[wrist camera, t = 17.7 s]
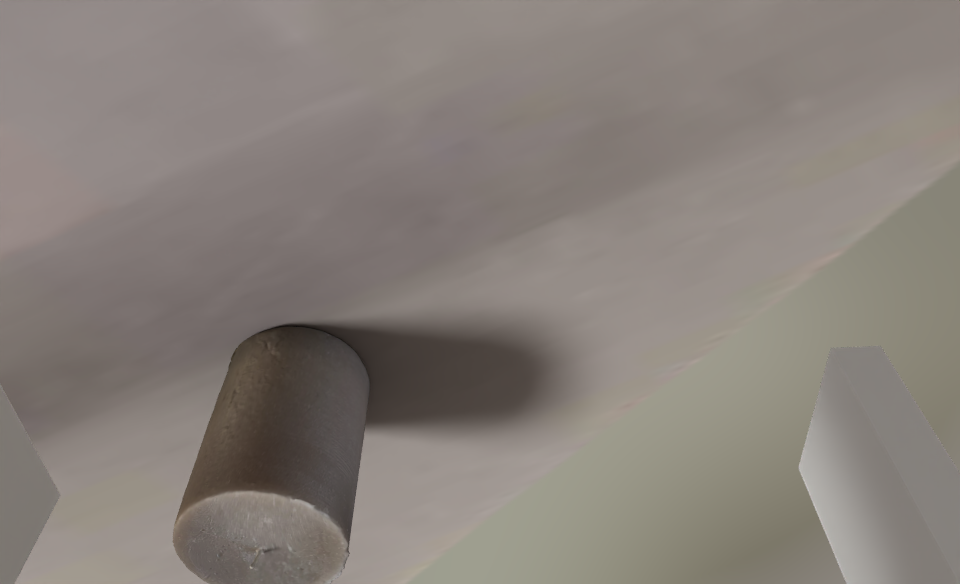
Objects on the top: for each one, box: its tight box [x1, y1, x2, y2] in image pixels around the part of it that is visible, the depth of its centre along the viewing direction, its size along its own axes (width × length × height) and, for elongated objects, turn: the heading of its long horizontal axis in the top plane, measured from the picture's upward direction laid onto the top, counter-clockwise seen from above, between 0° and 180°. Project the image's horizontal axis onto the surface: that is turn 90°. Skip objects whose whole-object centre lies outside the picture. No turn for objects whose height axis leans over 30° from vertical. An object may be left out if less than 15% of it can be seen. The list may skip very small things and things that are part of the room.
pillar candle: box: [173, 327, 370, 584], centre depth 49 cm, size 10×10×15 cm
